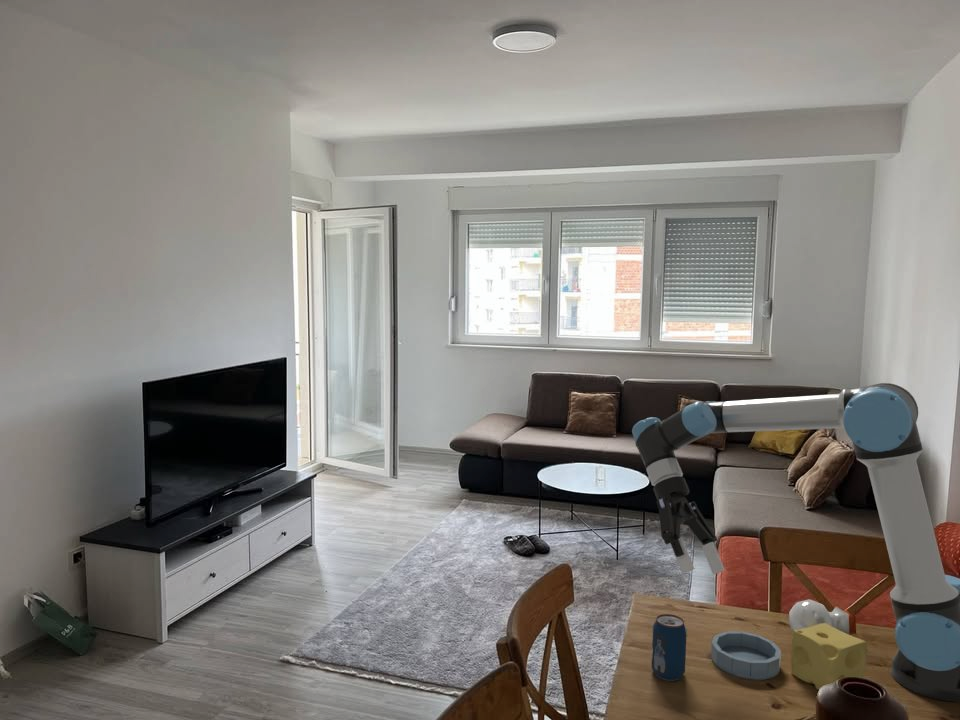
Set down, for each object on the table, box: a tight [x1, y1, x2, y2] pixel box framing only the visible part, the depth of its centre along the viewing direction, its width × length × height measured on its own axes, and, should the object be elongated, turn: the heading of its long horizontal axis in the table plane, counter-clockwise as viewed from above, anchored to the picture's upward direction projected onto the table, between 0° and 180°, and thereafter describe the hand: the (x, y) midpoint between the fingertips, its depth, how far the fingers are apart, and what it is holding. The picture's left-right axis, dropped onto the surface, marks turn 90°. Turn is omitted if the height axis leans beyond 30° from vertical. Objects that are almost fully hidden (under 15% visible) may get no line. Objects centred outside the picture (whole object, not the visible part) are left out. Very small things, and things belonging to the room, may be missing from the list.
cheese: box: [790, 623, 868, 690], centre depth 150 cm, size 10×11×10 cm
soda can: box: [651, 613, 688, 682], centre depth 152 cm, size 7×7×12 cm
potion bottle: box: [788, 598, 857, 636], centre depth 169 cm, size 9×10×15 cm
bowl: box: [710, 630, 782, 681], centre depth 157 cm, size 14×14×4 cm
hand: (704, 571), depth 154 cm, fingers open, 13 cm apart
